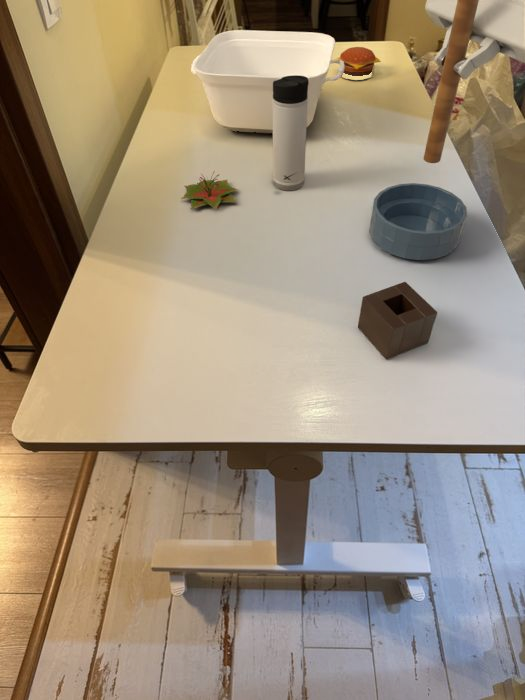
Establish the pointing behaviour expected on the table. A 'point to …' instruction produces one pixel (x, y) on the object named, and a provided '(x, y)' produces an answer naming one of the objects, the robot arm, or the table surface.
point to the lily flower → (209, 193)
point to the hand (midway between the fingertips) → (448, 69)
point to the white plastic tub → (261, 73)
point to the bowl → (417, 221)
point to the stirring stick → (450, 78)
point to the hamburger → (358, 61)
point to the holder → (396, 319)
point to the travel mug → (289, 131)
